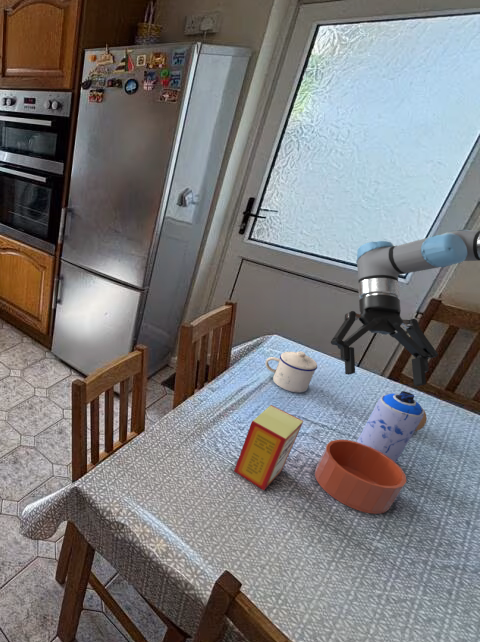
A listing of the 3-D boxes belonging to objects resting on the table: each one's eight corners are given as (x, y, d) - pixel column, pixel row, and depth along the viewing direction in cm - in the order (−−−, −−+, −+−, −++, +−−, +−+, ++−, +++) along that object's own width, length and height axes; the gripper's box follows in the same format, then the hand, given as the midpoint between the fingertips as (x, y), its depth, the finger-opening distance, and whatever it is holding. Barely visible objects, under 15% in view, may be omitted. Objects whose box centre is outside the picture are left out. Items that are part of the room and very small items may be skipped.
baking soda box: (252, 453, 103) (271, 403, 97) (282, 470, 98) (304, 419, 92) (233, 471, 99) (252, 420, 92) (263, 490, 94) (285, 438, 87)
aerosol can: (393, 456, 102) (430, 392, 93) (394, 477, 96) (434, 411, 88) (351, 441, 106) (383, 378, 98) (350, 459, 101) (384, 395, 92)
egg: (423, 438, 107) (437, 415, 103) (398, 434, 108) (411, 411, 105) (411, 425, 111) (424, 402, 108) (387, 420, 113) (399, 398, 109)
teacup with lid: (309, 383, 128) (322, 351, 123) (306, 397, 121) (319, 365, 116) (263, 368, 135) (274, 337, 130) (258, 381, 129) (269, 350, 124)
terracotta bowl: (388, 483, 95) (403, 458, 91) (392, 525, 86) (409, 499, 82) (316, 455, 102) (327, 431, 99) (312, 490, 93) (325, 465, 90)
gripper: (429, 310, 107) (438, 391, 100) (314, 296, 114) (315, 371, 108) (453, 300, 100) (464, 387, 93) (328, 287, 108) (330, 366, 101)
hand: (384, 379), depth 101 cm, fingers open, 13 cm apart
